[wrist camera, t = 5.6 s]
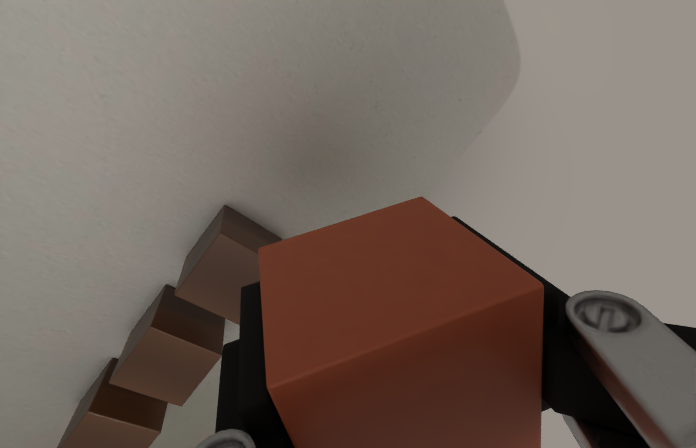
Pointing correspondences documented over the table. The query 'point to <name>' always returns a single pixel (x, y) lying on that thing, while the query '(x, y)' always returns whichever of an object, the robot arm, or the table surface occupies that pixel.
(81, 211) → the table surface
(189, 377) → the small boxes
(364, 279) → the orange-red cube
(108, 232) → the table surface
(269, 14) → the table surface
